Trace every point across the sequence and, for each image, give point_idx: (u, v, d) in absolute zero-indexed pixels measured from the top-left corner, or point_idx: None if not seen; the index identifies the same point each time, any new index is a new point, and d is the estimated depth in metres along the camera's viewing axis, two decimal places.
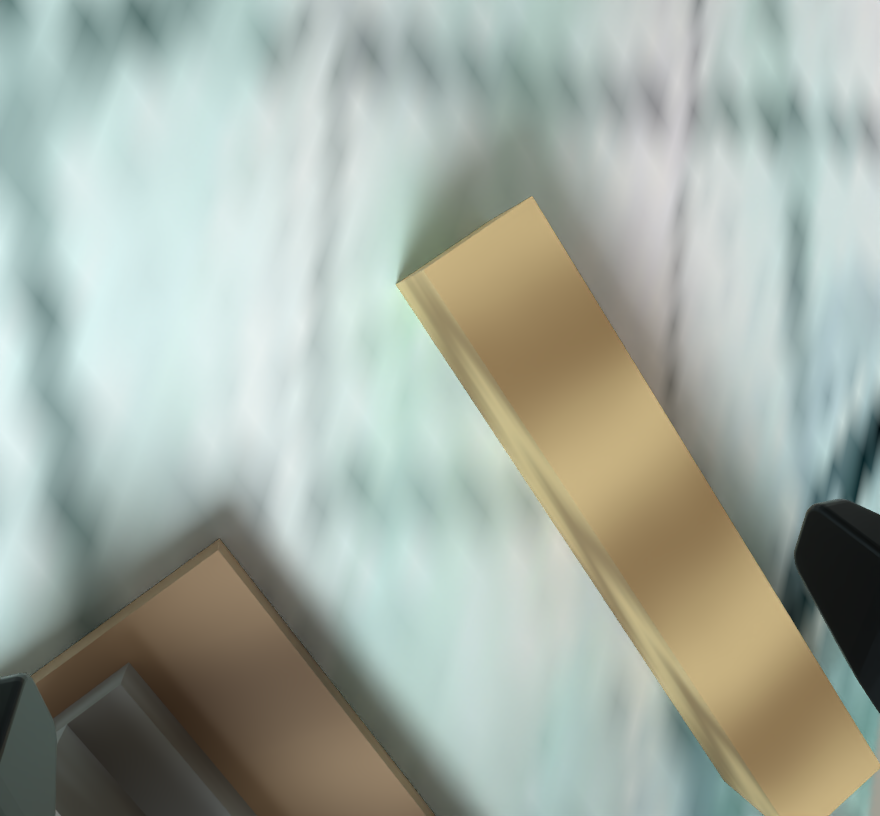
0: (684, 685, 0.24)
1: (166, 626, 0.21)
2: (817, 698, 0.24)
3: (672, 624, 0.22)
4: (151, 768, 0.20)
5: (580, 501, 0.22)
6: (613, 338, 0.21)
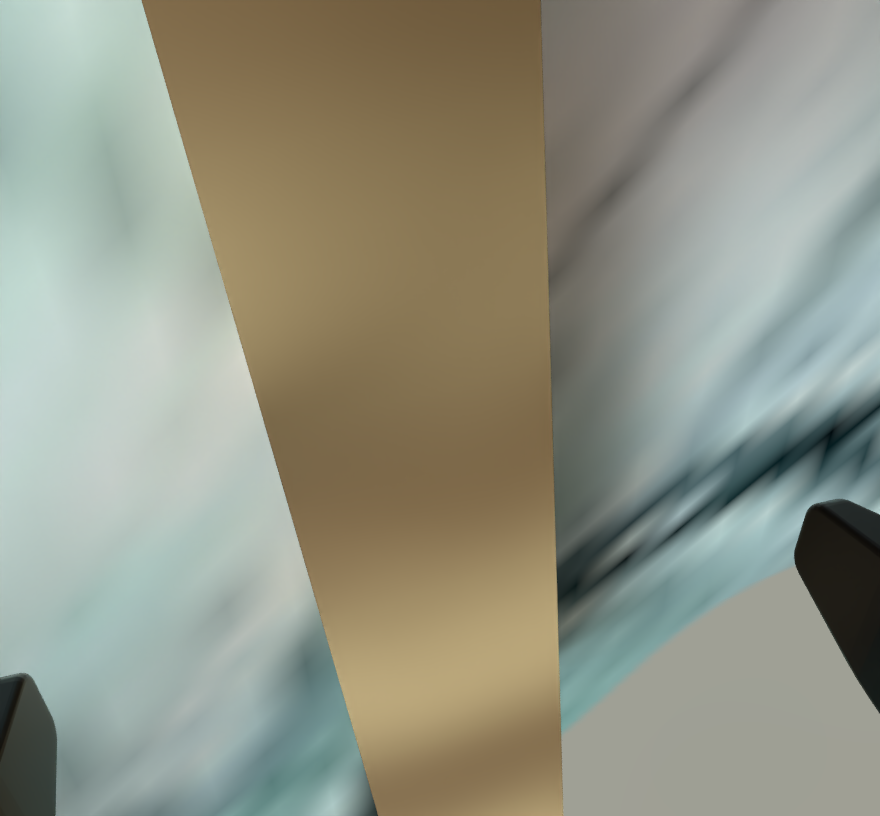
0: None
1: None
2: (530, 756, 0.15)
3: (354, 620, 0.11)
4: None
5: (258, 357, 0.09)
6: (525, 3, 0.07)
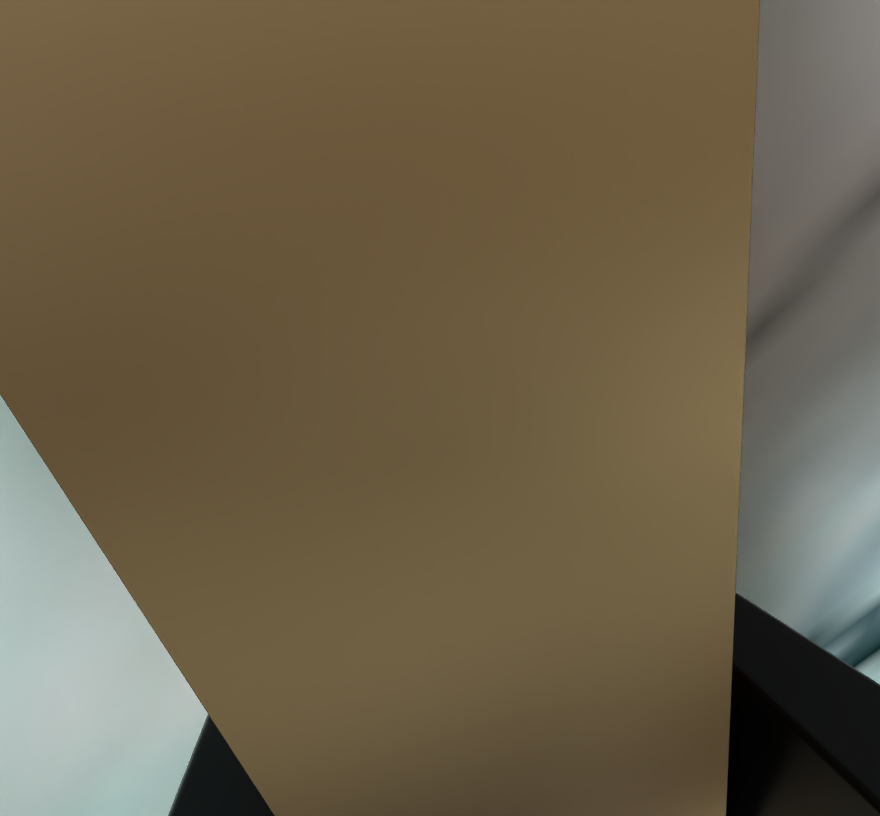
0: None
1: None
2: None
3: None
4: None
5: (260, 750, 0.05)
6: (725, 156, 0.04)
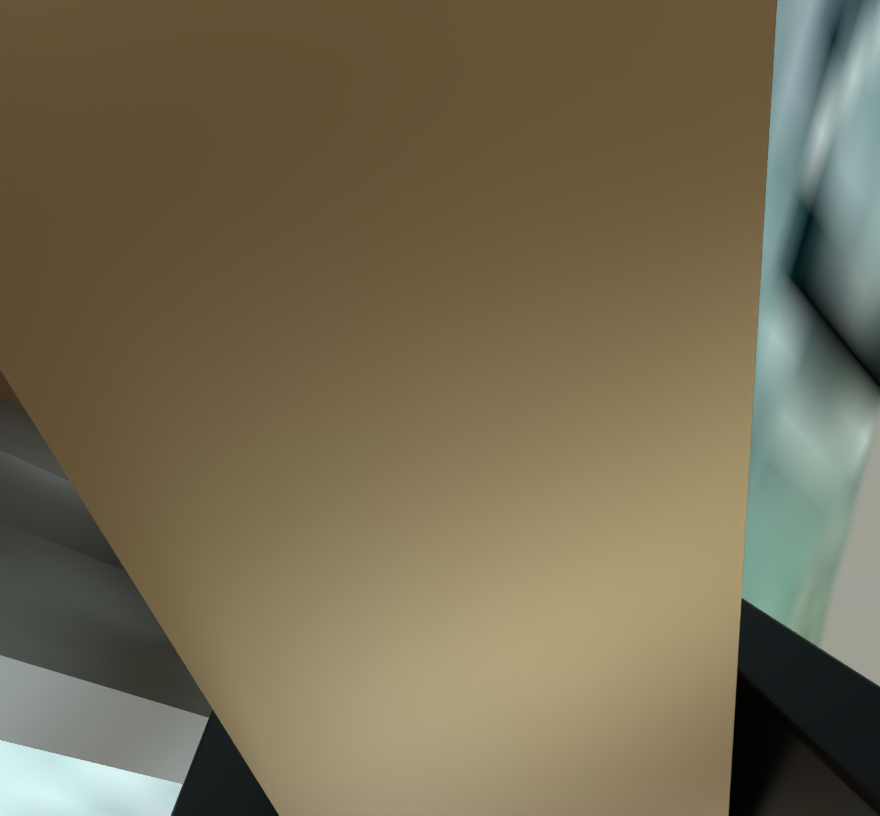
0: None
1: None
2: None
3: None
4: None
5: (263, 747, 0.05)
6: (740, 150, 0.04)
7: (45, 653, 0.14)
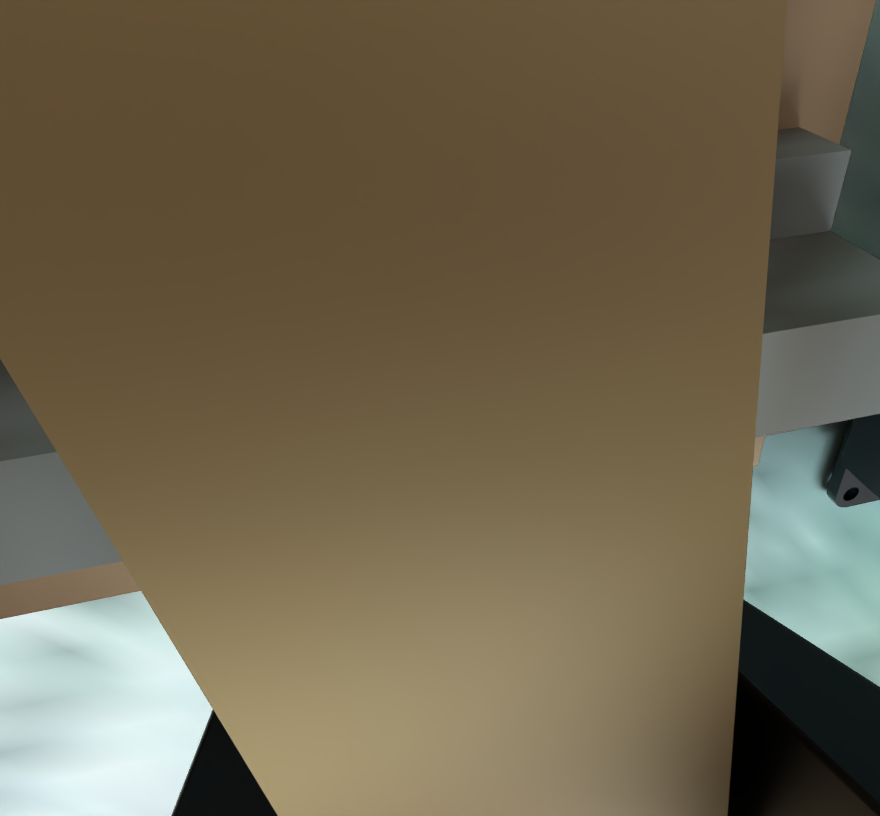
0: None
1: None
2: None
3: None
4: None
5: (265, 751, 0.05)
6: (748, 159, 0.04)
7: None
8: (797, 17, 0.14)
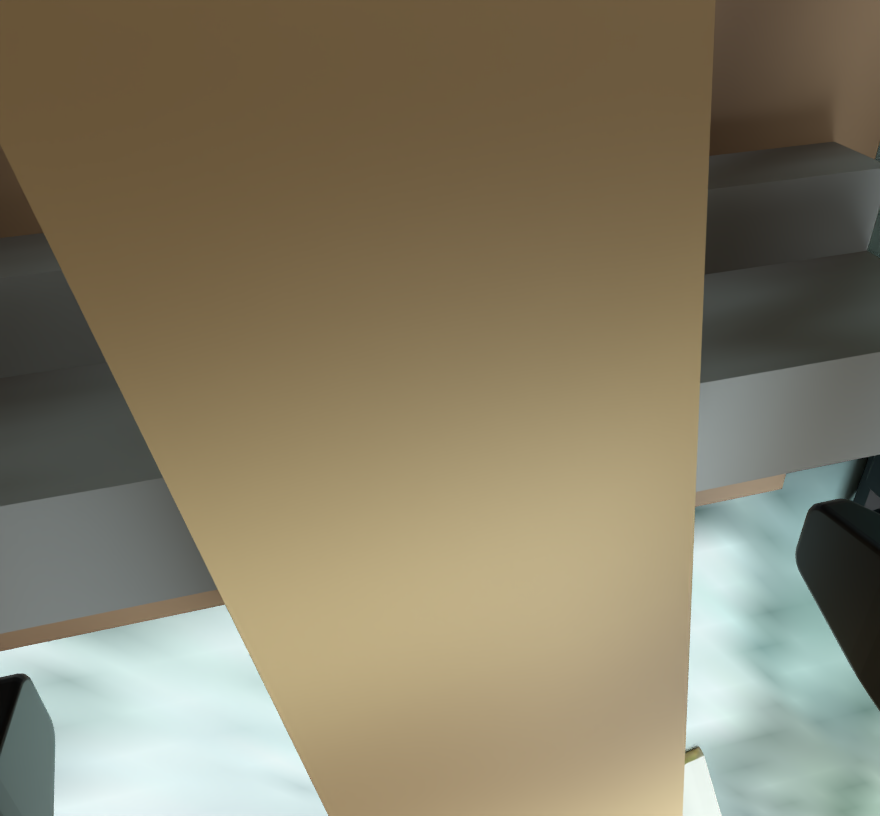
0: None
1: None
2: None
3: None
4: None
5: (268, 646, 0.06)
6: (687, 115, 0.04)
7: None
8: (835, 26, 0.13)
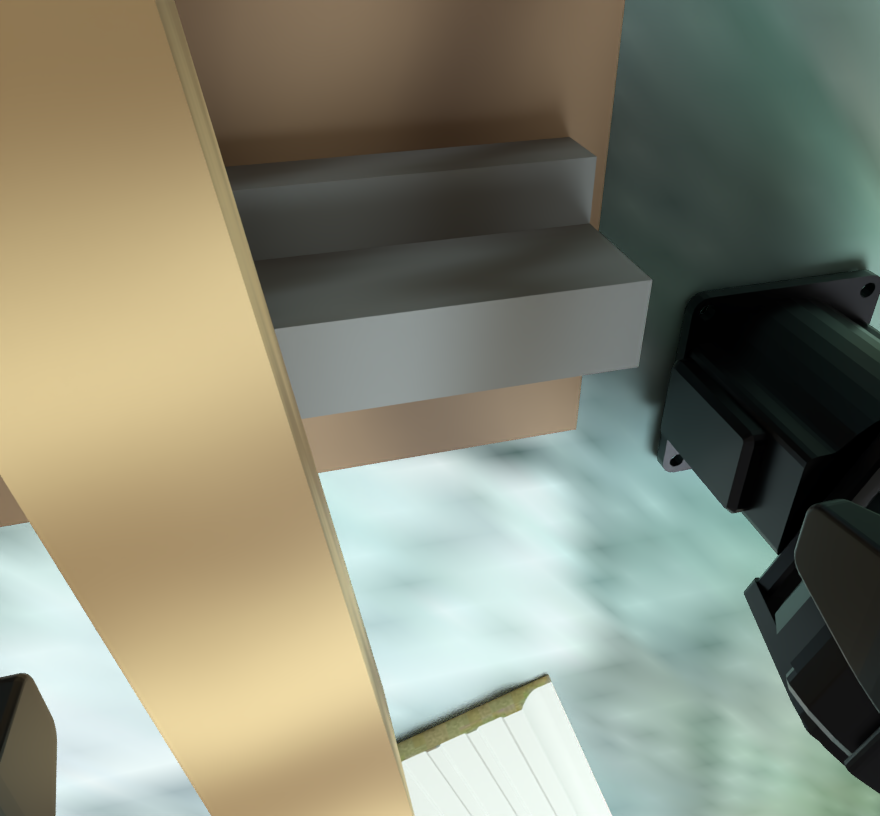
0: None
1: None
2: (365, 770, 0.15)
3: (147, 655, 0.12)
4: None
5: None
6: (171, 105, 0.08)
7: None
8: (554, 47, 0.17)
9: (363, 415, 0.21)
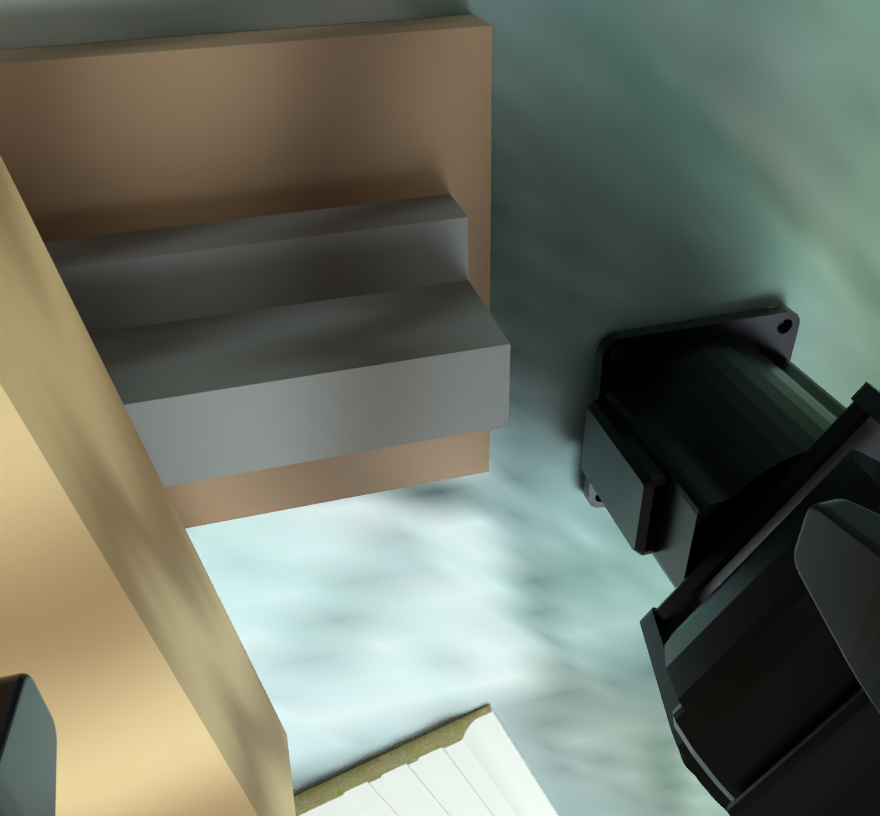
0: None
1: None
2: None
3: None
4: None
5: None
6: None
7: None
8: (423, 109, 0.17)
9: None
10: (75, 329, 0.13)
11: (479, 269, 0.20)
